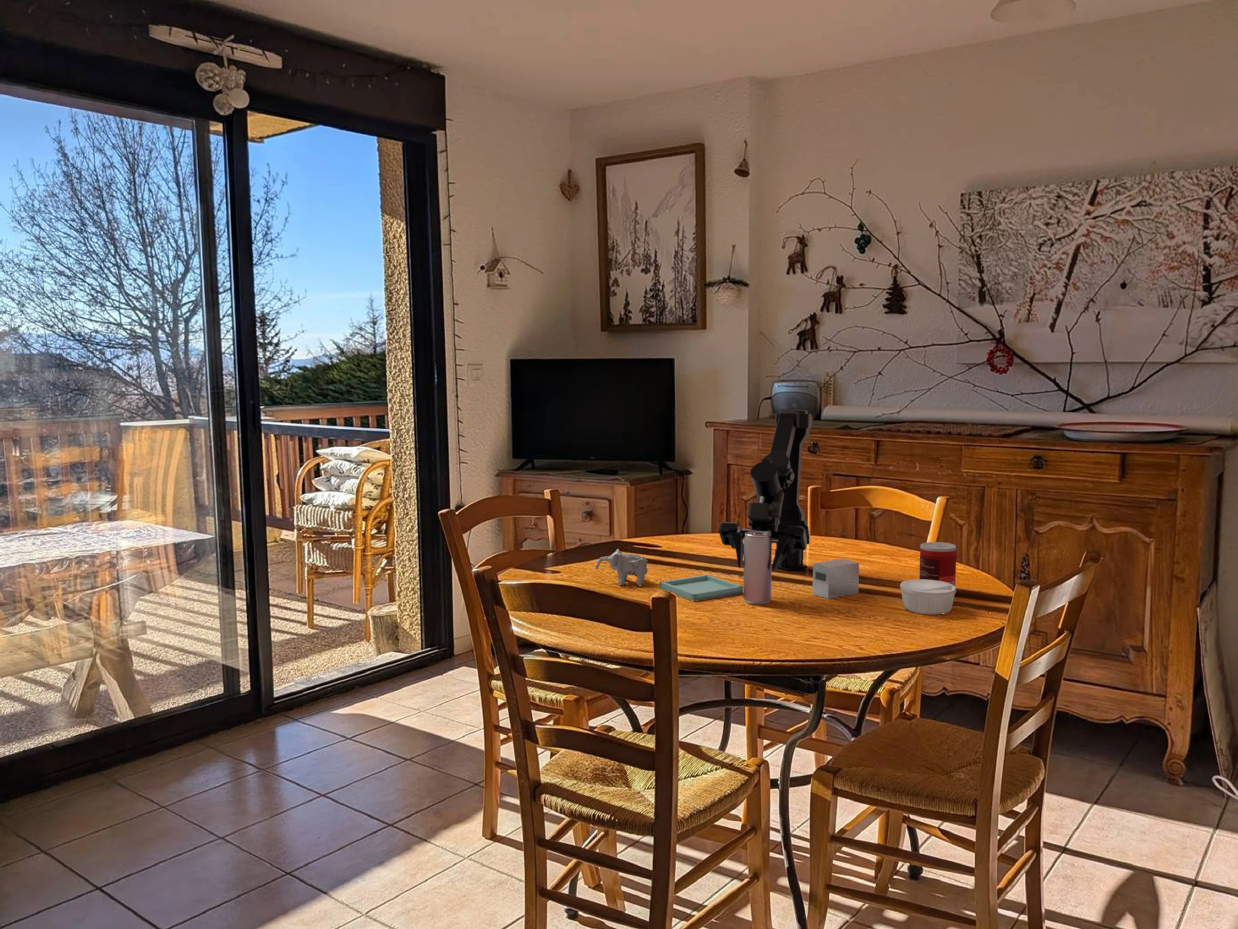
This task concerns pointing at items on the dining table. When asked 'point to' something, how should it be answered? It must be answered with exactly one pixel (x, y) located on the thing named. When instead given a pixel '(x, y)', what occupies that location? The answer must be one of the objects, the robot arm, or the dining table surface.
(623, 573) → the gray elephant figurine
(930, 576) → the canned food
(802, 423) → the robot arm
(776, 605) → the dining table surface
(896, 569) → the dining table surface
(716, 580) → the tray
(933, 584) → the ramekin
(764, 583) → the beverage can
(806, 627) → the dining table surface
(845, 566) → the block
